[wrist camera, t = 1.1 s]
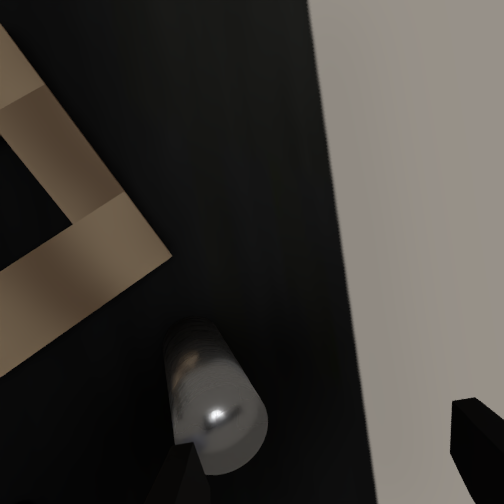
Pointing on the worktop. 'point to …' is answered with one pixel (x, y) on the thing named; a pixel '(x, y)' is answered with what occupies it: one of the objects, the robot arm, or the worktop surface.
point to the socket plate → (78, 212)
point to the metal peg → (211, 397)
